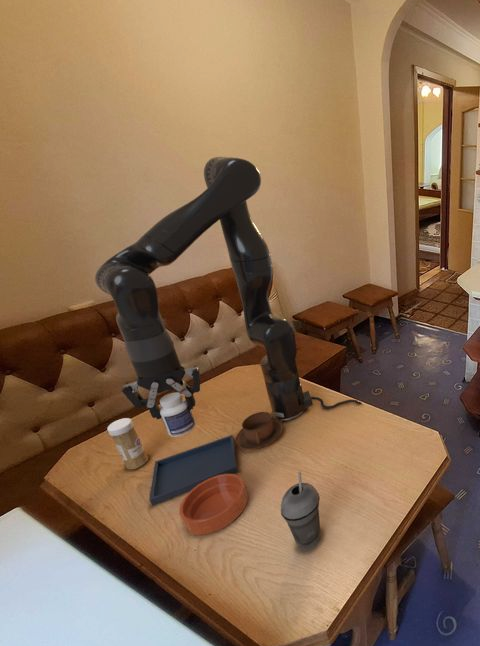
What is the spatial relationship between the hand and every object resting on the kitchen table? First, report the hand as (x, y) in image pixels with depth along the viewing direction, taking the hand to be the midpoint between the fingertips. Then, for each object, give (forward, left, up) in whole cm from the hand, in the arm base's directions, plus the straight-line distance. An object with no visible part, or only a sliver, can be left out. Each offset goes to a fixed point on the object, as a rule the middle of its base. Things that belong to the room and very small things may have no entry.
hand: (175, 411), depth 85 cm
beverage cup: (-20, +35, -19) cm, 44 cm away
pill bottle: (0, 0, -6) cm, 6 cm away
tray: (0, 0, -19) cm, 19 cm away
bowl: (-4, +16, -19) cm, 25 cm away
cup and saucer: (-15, -4, -19) cm, 25 cm away
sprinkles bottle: (+13, -11, -19) cm, 26 cm away
